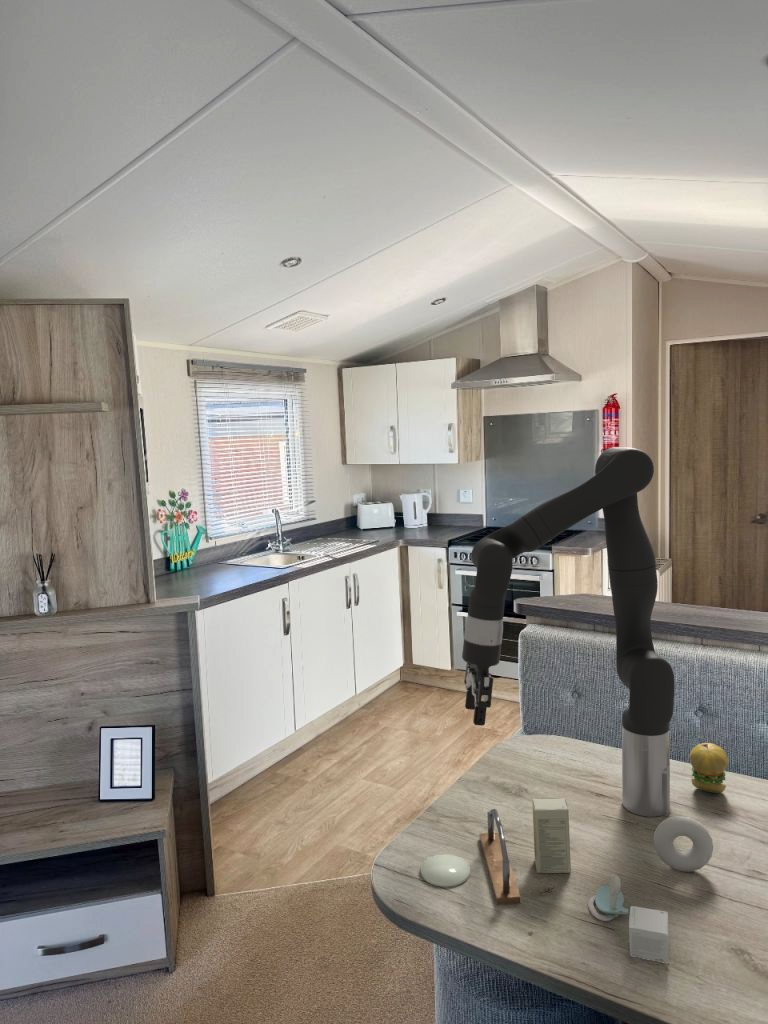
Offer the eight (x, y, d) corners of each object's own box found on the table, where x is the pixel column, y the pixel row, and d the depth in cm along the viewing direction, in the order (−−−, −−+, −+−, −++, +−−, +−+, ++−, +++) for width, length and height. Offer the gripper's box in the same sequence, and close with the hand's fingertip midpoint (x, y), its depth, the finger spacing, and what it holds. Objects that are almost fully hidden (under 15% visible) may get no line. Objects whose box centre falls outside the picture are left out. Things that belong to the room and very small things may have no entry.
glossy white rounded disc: (476, 863, 137) (476, 860, 137) (461, 891, 129) (461, 888, 129) (430, 853, 141) (430, 850, 141) (413, 880, 133) (413, 877, 133)
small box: (630, 933, 117) (630, 904, 117) (669, 940, 115) (669, 911, 115) (628, 957, 112) (628, 927, 111) (668, 965, 110) (669, 935, 109)
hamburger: (730, 789, 160) (730, 736, 159) (725, 805, 154) (726, 749, 153) (691, 782, 164) (692, 730, 163) (686, 796, 158) (686, 743, 157)
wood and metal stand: (479, 839, 145) (478, 791, 144) (499, 838, 145) (498, 790, 144) (497, 904, 125) (495, 849, 124) (520, 903, 125) (519, 848, 124)
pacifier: (592, 926, 119) (631, 925, 119) (591, 889, 119) (629, 889, 118) (585, 897, 127) (621, 897, 126) (583, 863, 126) (619, 862, 125)
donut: (711, 867, 133) (712, 815, 132) (714, 879, 130) (715, 825, 129) (652, 861, 136) (652, 809, 135) (653, 872, 132) (654, 819, 131)
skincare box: (567, 860, 137) (567, 797, 136) (571, 874, 133) (570, 809, 131) (532, 859, 138) (531, 797, 136) (535, 873, 133) (533, 809, 132)
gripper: (510, 650, 141) (500, 731, 143) (493, 630, 155) (485, 704, 157) (471, 647, 141) (462, 729, 142) (458, 627, 155) (450, 702, 156)
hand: (474, 716), depth 150 cm, fingers open, 8 cm apart
